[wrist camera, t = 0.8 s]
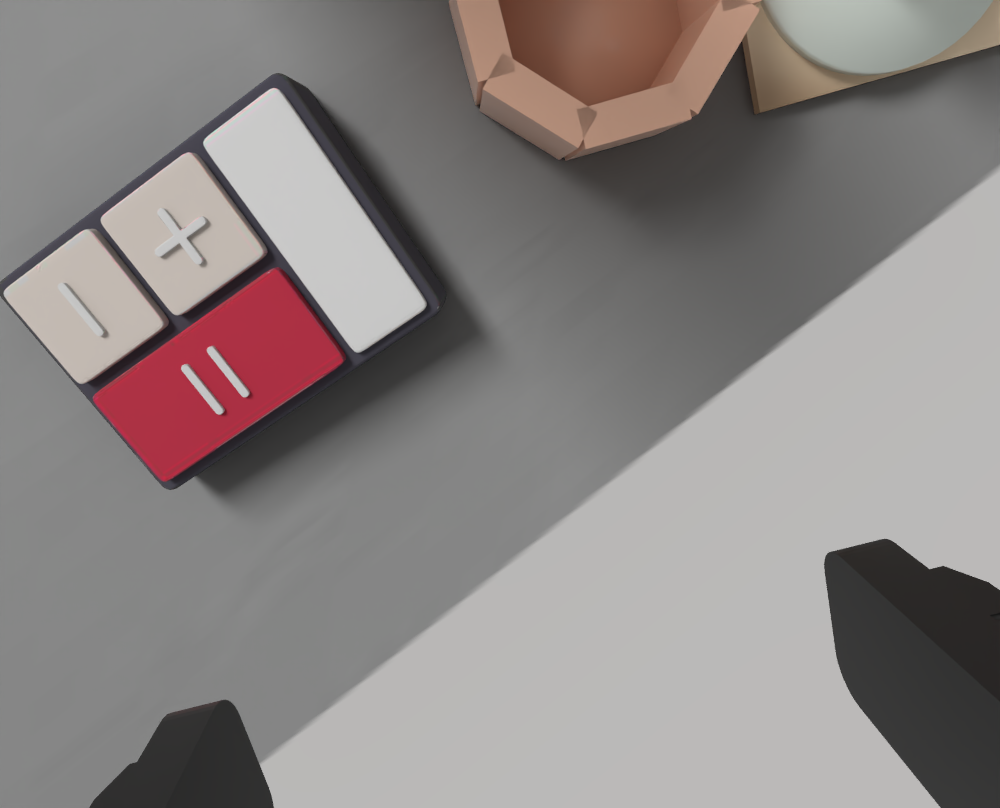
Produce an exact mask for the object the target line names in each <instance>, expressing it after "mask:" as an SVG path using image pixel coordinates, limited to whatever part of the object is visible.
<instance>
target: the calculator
mask: <svg viewBox="0 0 1000 808" xmlns="http://www.w3.org/2000/svg"><path fill="white" fill-rule="evenodd" d="M0 296H1V297H2V299H3V300H4V301H5V302H6V304H7V305H8V306H9V307H10V308H11V309H12V311H13V312H14V313H15V314H16V315H17V317H18V318H19V319H20V320H21V321H22V322H23V324H24V325H25V326H26V327H27V328H28V329H29V331H30V332H31V333H32V334H33V335H34V336H35V338H36V339H37V340H38V341H39V342H40V343H41V345H42V346H43V347H44V348H45V349H46V351H47V352H48V353H49V354H50V355H51V356H52V358H53V359H54V360H55V361H56V362H57V363H58V365H59V366H60V367H61V368H62V369H63V370H64V372H65V373H66V374H67V375H68V376H69V378H70V379H71V380H72V381H73V382H74V383H75V385H76V386H77V387H78V388H79V389H80V390H81V392H82V393H83V394H84V395H85V396H86V397H87V399H88V400H89V401H90V402H91V403H92V405H93V406H94V407H95V408H96V409H97V410H98V412H99V413H100V414H101V415H102V416H103V417H104V419H105V420H106V421H107V422H108V423H109V424H110V426H111V427H112V428H113V429H114V430H115V431H116V433H117V434H118V435H119V436H120V437H121V439H122V440H123V441H124V442H125V443H126V444H127V446H128V447H129V448H130V449H131V450H132V451H133V453H134V454H135V455H136V456H137V457H138V458H139V460H140V461H141V462H142V463H143V464H144V466H145V467H146V468H147V469H148V470H149V471H150V473H151V474H152V475H153V476H154V477H155V478H156V480H157V481H158V482H159V483H160V484H161V485H162V486H163V487H164V488H166V489H169V490H173V489H176V488H178V487H179V486H181V485H182V484H184V483H185V482H187V481H188V480H190V479H191V478H193V477H194V476H196V475H197V474H199V473H200V472H202V471H203V470H205V469H206V468H208V467H209V466H211V465H212V464H214V463H215V462H217V461H218V460H220V459H221V458H223V457H224V456H226V455H227V454H229V453H230V452H232V451H233V450H235V449H236V448H238V447H239V446H241V445H242V444H244V443H245V442H247V441H248V440H250V439H251V438H253V437H254V436H256V435H257V434H259V433H260V432H262V431H263V430H265V429H266V428H268V427H269V426H271V425H272V424H273V423H275V422H276V421H278V420H279V419H281V418H282V417H284V416H285V415H287V414H288V413H290V412H291V411H293V410H294V409H296V408H297V407H299V406H300V405H302V404H303V403H305V402H306V401H308V400H309V399H311V398H312V397H314V396H315V395H317V394H318V393H320V392H321V391H323V390H324V389H326V388H327V387H329V386H330V385H332V384H333V383H335V382H336V381H338V380H339V379H341V378H342V377H344V376H345V375H347V374H348V373H350V372H351V371H353V370H354V369H356V368H357V367H359V366H360V365H362V364H363V363H365V362H366V361H368V360H369V359H371V358H372V357H374V356H375V355H377V354H378V353H380V352H381V351H383V350H384V349H386V348H387V347H389V346H390V345H391V344H393V343H394V342H396V341H397V340H399V339H400V338H402V337H403V336H405V335H406V334H408V333H409V332H411V331H412V330H414V329H415V328H417V327H418V326H420V325H421V324H423V323H424V322H426V321H427V320H429V319H430V318H432V317H433V316H435V315H436V314H437V313H438V312H439V311H440V309H441V307H442V305H443V303H444V301H445V299H446V291H445V289H444V287H443V286H442V284H441V283H440V281H439V280H438V279H437V277H436V276H435V274H434V273H433V271H432V270H431V268H430V267H429V265H428V264H427V262H426V261H425V259H424V258H423V256H422V255H421V253H420V252H419V251H418V249H417V248H416V246H415V245H414V243H413V242H412V240H411V239H410V237H409V236H408V234H407V233H406V231H405V230H404V228H403V227H402V226H401V224H400V223H399V221H398V220H397V218H396V217H395V215H394V214H393V212H392V211H391V209H390V208H389V206H388V205H387V203H386V202H385V201H384V199H383V198H382V196H381V195H380V193H379V192H378V190H377V189H376V187H375V186H374V184H373V183H372V181H371V180H370V178H369V177H368V176H367V174H366V173H365V171H364V170H363V168H362V167H361V165H360V164H359V162H358V161H357V159H356V158H355V156H354V155H353V153H352V152H351V151H350V149H349V148H348V146H347V145H346V143H345V142H344V140H343V139H342V137H341V136H340V134H339V133H338V131H337V130H336V128H335V127H334V126H333V124H332V123H331V121H330V120H329V118H328V117H327V115H326V114H325V112H324V111H323V109H322V108H321V106H320V105H319V103H318V102H317V101H316V99H315V98H314V96H313V95H312V93H311V92H310V91H309V89H308V88H306V87H305V86H303V85H301V84H300V83H298V82H296V81H294V80H293V79H291V78H289V77H287V76H285V75H283V74H280V73H276V74H273V75H271V76H270V77H268V78H267V79H266V80H264V81H263V82H262V83H260V84H259V85H258V86H256V87H255V88H254V89H253V90H251V91H250V92H249V93H247V94H246V95H245V96H243V97H242V98H241V99H239V100H238V101H237V102H235V103H234V104H233V105H231V106H230V107H229V108H228V109H226V110H225V111H224V112H222V113H221V114H220V115H218V116H217V117H216V118H214V119H213V120H212V121H210V122H209V123H208V124H207V125H205V126H204V127H203V128H201V129H200V130H199V131H197V132H196V133H195V134H193V135H192V136H191V137H189V138H188V139H187V140H185V141H184V142H183V143H182V144H180V145H179V146H178V147H176V148H175V149H174V150H172V151H171V152H170V153H168V154H167V155H166V156H164V157H163V158H162V159H161V160H159V161H158V162H157V163H155V164H154V165H153V166H151V167H150V168H149V169H147V170H146V171H145V172H143V173H142V174H141V175H140V176H138V177H137V178H136V179H134V180H133V181H132V182H130V183H129V184H128V185H126V186H125V187H124V188H122V189H121V190H120V191H118V192H117V193H116V194H115V195H113V196H112V197H111V198H109V199H108V200H107V201H105V202H104V203H103V204H101V205H100V206H99V207H97V208H96V209H95V210H94V211H92V212H91V213H90V214H88V215H87V216H86V217H84V218H83V219H82V220H80V221H79V222H78V223H76V224H75V225H74V226H72V227H71V228H70V229H69V230H67V231H66V232H65V233H63V234H62V235H61V236H59V237H58V238H57V239H55V240H54V241H53V242H51V243H50V244H49V245H48V246H46V247H45V248H44V249H42V250H41V251H40V252H38V253H37V254H36V255H34V256H33V257H32V258H30V259H29V260H28V261H26V262H25V263H24V264H23V265H21V266H20V267H19V268H17V269H16V270H15V271H13V272H12V273H11V274H9V275H8V276H7V277H6V278H4V279H3V280H2V281H1V282H0Z"/></svg>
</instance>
